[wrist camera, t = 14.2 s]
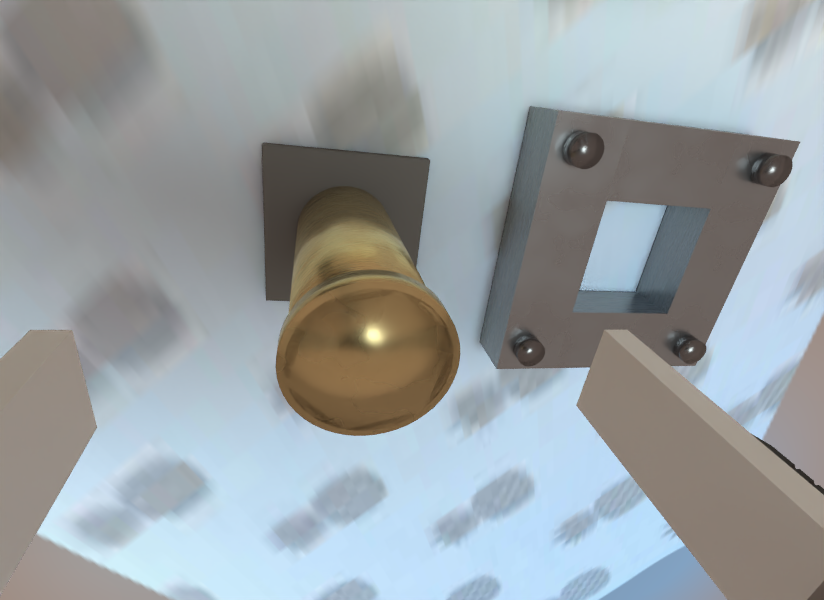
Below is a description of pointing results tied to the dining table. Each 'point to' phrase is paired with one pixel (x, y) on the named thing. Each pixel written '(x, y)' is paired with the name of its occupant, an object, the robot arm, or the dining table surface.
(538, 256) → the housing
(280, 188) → the mat
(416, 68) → the dining table surface
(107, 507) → the dining table surface
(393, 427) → the brass-coloured knob
